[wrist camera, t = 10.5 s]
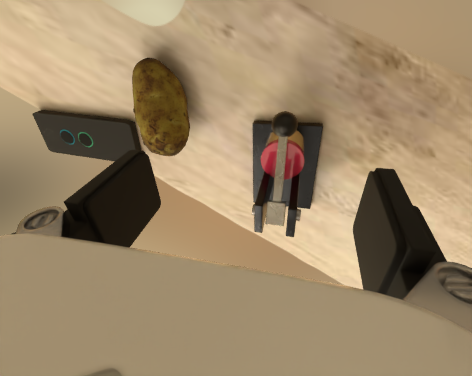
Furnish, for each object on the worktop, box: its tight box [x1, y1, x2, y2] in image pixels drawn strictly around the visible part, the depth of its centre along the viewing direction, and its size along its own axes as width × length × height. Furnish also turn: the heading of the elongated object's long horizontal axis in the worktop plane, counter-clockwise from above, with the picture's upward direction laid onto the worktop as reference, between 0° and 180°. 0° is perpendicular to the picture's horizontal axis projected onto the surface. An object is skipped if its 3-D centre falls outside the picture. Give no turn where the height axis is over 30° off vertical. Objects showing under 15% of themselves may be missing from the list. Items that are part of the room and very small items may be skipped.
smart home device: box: [33, 110, 141, 161], centre depth 47 cm, size 8×2×20 cm
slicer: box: [252, 121, 323, 237], centre depth 36 cm, size 15×10×14 cm, turn 3°
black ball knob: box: [266, 111, 298, 226], centre depth 32 cm, size 14×3×3 cm
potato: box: [132, 58, 190, 156], centre depth 37 cm, size 8×13×8 cm, turn 177°
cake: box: [261, 130, 305, 180], centre depth 36 cm, size 6×6×5 cm
